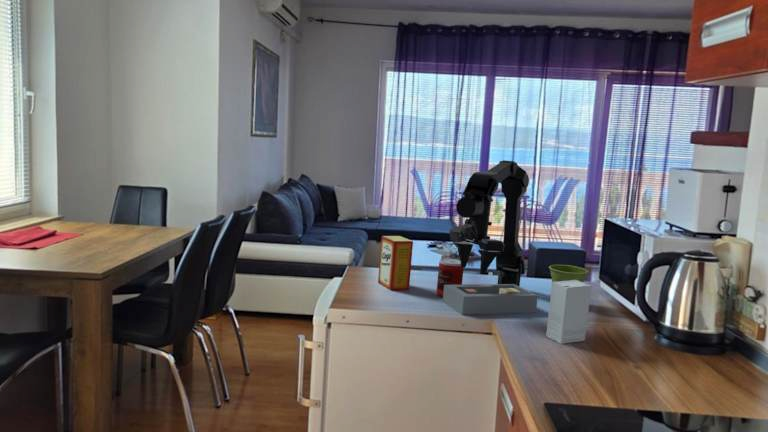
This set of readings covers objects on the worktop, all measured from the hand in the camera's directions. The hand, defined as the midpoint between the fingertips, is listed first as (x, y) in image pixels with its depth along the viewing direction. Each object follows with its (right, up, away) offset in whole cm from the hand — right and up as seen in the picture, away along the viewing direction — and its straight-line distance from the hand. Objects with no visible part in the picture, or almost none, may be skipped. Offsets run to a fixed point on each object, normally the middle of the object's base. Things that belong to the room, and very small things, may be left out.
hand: (472, 270), depth 175 cm
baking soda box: (-23, -7, +21) cm, 32 cm away
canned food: (-5, -9, +14) cm, 18 cm away
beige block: (+12, -9, +6) cm, 16 cm away
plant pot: (+31, -12, +16) cm, 37 cm away
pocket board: (+5, -11, +5) cm, 13 cm away
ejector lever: (+6, -9, +5) cm, 12 cm away
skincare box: (+21, -16, -20) cm, 33 cm away
